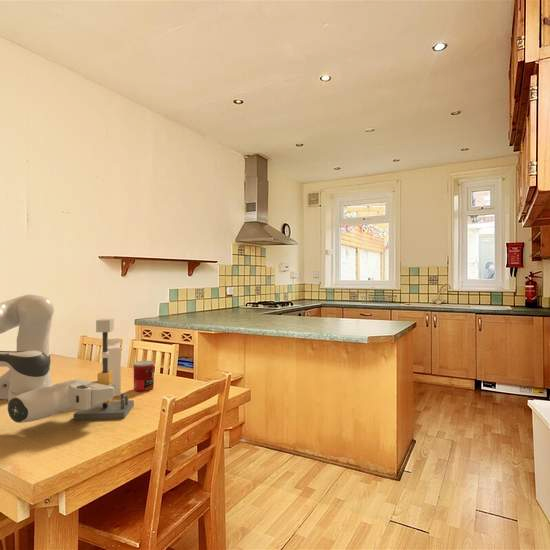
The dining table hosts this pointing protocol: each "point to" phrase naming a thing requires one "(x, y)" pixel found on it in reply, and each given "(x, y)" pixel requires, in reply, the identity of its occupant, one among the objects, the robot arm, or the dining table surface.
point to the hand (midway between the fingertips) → (107, 384)
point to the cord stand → (114, 407)
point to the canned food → (143, 376)
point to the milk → (115, 363)
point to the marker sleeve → (105, 380)
